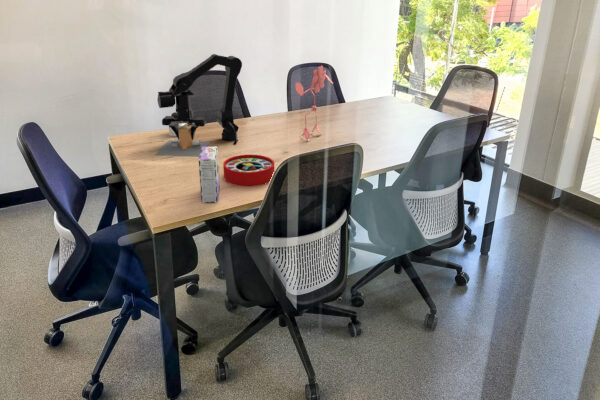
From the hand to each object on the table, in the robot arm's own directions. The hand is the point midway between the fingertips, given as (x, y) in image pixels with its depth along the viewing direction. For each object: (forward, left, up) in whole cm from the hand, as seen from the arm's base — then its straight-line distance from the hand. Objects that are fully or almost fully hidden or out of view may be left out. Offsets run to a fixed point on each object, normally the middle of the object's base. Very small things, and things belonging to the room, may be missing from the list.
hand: (186, 139), depth 219 cm
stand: (0, +4, -4) cm, 6 cm away
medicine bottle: (+8, -16, -4) cm, 18 cm away
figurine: (-59, -21, -4) cm, 63 cm away
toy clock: (-34, +30, -5) cm, 45 cm away
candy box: (-23, +49, -4) cm, 54 cm away
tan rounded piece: (0, 0, -3) cm, 3 cm away
